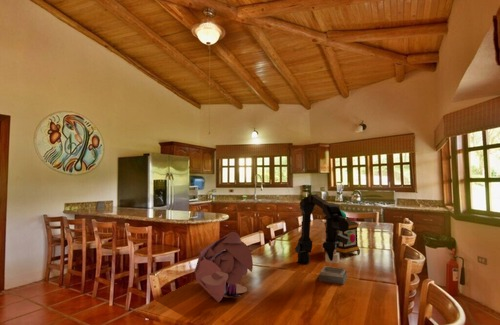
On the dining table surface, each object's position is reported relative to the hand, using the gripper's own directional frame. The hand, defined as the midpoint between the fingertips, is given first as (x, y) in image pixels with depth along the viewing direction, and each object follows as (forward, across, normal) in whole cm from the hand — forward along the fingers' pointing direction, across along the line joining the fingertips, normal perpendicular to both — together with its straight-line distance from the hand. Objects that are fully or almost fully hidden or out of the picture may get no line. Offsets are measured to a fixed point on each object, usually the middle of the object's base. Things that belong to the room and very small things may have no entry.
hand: (332, 258), depth 144 cm
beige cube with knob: (+1, 0, 0) cm, 1 cm away
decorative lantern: (+10, +55, +4) cm, 56 cm away
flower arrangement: (+10, -38, +42) cm, 58 cm away
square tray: (+10, 0, 0) cm, 10 cm away
